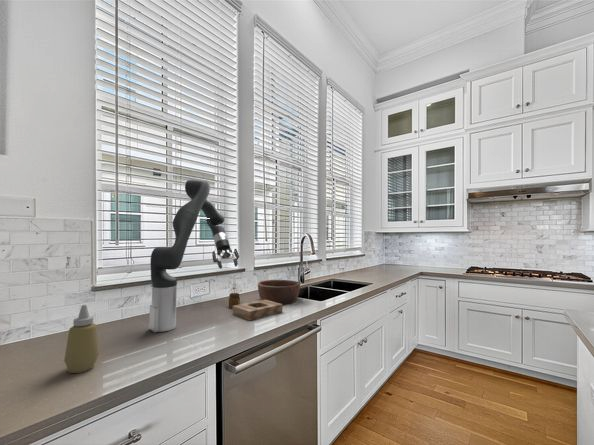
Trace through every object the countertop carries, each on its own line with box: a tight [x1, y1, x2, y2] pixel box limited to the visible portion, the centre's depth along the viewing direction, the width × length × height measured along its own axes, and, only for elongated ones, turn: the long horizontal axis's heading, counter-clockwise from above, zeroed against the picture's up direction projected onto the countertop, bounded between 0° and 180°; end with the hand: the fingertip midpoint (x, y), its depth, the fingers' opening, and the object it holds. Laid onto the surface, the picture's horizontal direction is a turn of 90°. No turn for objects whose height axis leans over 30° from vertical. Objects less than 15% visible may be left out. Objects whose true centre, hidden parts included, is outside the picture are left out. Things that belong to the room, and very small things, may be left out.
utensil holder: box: [228, 283, 241, 309], centre depth 153 cm, size 6×6×12 cm
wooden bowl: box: [257, 279, 301, 305], centre depth 170 cm, size 25×25×10 cm
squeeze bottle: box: [63, 304, 100, 374], centre depth 83 cm, size 8×8×18 cm
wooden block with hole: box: [232, 299, 284, 321], centre depth 142 cm, size 20×14×4 cm
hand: (228, 266), depth 158 cm, fingers open, 8 cm apart
